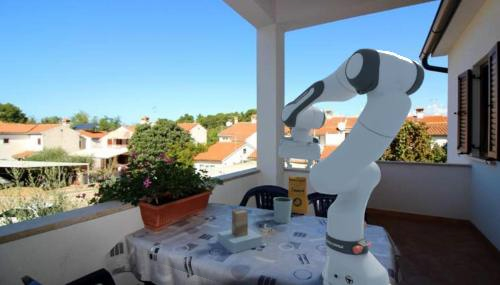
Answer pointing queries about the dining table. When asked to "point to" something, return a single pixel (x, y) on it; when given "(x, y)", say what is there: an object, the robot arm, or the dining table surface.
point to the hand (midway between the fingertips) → (298, 169)
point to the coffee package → (298, 194)
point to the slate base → (239, 241)
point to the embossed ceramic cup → (282, 209)
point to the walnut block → (239, 223)
